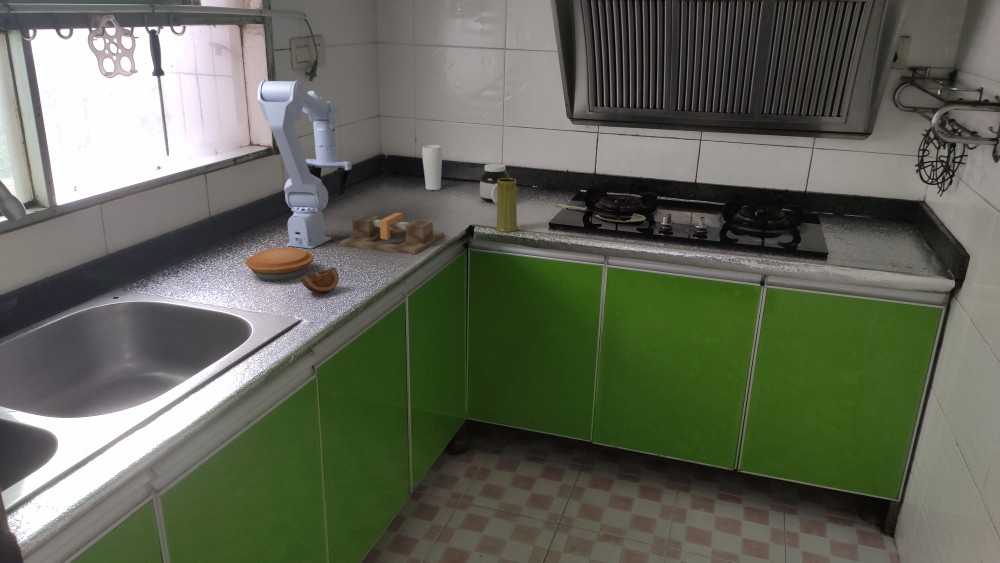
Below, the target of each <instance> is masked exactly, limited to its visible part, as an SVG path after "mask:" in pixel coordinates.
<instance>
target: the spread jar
mask: <svg viewBox="0 0 1000 563" xmlns="http://www.w3.org/2000/svg"><path fill="white" fill-rule="evenodd" d="M506 167H507V166H506V165H505V164H502V163H489V164H485V165H484V172H483V173H482V174H481V176H480V179H479V180H480V181H479V194H480V198H481V200H482V201H483V202H485V203H489V204H496V205H497V186H498V184H497V180H498V179H501V178H510V174H508V172H507V171H506Z"/></svg>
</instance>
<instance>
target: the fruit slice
mask: <svg viewBox="0 0 1000 563" xmlns="http://www.w3.org/2000/svg"><path fill="white" fill-rule="evenodd" d="M339 277H340V276H339V273H338V271H337V268H336V267H331V268H327V269H324V270H320V271H317V272H316V273H311V274H307V275H302V276H301V278H300V282H301V284H302V285H303V286H304V287H305V288H306V289H307V290H308V291H309V292H311V293H314V294H319V295H325V294H328V293H330V292H332V291H334V289H335V288H336V287H337V285H338V284H339V280H340V278H339Z"/></svg>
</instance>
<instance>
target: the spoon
mask: <svg viewBox="0 0 1000 563" xmlns="http://www.w3.org/2000/svg"><path fill="white" fill-rule="evenodd" d="M555 207H557V208H561V209H566V208H568V210H579V211H584V212H586V211H585V207H581V206H574V205H568V204H563V203H559V204H558V203H556V204H555ZM593 216H594V217H596V218H598V219H601V220H605V221H607V222H610V223H635V222H644V221H645V220H646V217H645V216H644V215H641V214H637V213H633V215H632V216H631V217H632V218H631V219H630V220H626V221H622V220H621V219H618V220H617V219H611V218H607V219H605V218H602V217H600V216H599V215H593Z"/></svg>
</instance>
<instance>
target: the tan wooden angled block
mask: <svg viewBox="0 0 1000 563" xmlns="http://www.w3.org/2000/svg"><path fill="white" fill-rule="evenodd" d="M395 222H404V214H403V212H394V213H392V214H390V215H389V216H386V217H384V218H382V219H380V235H381V237H380V239H381V240H386V241H387V240H389V239H391V233H390V226H389V225H391V224H393V223H395ZM402 231H403V230H401V229H394V232H402Z"/></svg>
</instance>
